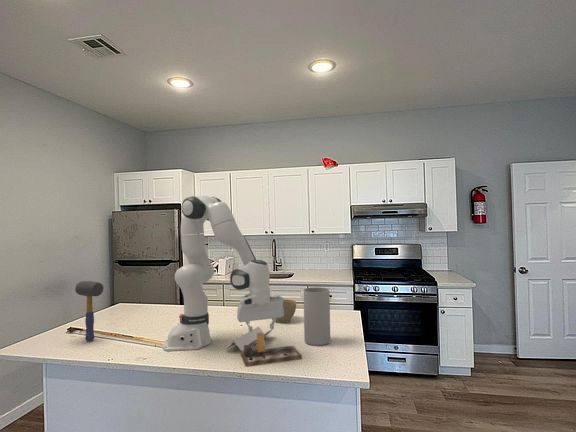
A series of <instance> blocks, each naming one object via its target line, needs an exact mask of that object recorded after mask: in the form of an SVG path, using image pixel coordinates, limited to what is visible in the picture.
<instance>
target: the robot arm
mask: <svg viewBox="0 0 576 432" xmlns="http://www.w3.org/2000/svg"><path fill="white" fill-rule="evenodd" d="M181 212H182V216H181V221H180V240H181V251H182V254H184V255H185V257H186V260H187V262H188V263H187V264H184V265H183V266H181V267H179V268H178V269H177V270H176V271H175V273H174V282H175V283H176V284H177V286H178V287H179V288H180V289H181V290H180V291H181V293H182V296H183V305H184V306H183V311H184V313H180V314H178V315H179V316H178V318H179V323H178V324H177V325H175V326H174V327H173V328H172V329H171V330H170V331H169V333H168V336H167V340H165V341H164V342H163V343H164V344H163V343H162V349H163V350H164V351H165V352H172V351H173V352H174V351H192V350H193V351H194V350H200V349H202V348H203V347H206V346H208V345H209V344H211V343H212V337H211V334H210V327H209V324H210V314H209V311H208V310H209V309H208V308H209V307H208V306H209V304H208V296H207V294H206V293H205V291H204V287H203V284H205V283H208V281H210V280H211V279H212V278H213V276H214V274H215V267H214V265H213V264H212V263H211V262H210V259H209V256H208V253H207V249H206V241H205V230H204V229H205V227H204V225H205V222H206V221H209V223H210V226H211V229H212V233H213V235H214V237H215V239H216V240H217V241H218V242H219V243H221V244H222V245H226V246H229V247H231V248H232V249H234V250H235V251H237V253H238V255H239V257H240V259H241V262H242V263H243V265H242V266H240V267H238V268H235V269H233V270H232V271H231V273H230V275H229V281H230V284H231V286H232V287H233V288H234V289H236V290H245V289H248V290H249V293H248V294H245V295H242V296H241V297H240V298H238V299H239V304H238V306H237V311H236V318H237V321H238V322H239V323H245V324H246V326H247V329H248V332H250V331H253V329H254V328H253V326H251V325H249V324H251V323H250V322H253V321H254V322H256V321H261V320H269V319H270V320H272V321H271V323H269V329H270V330H271V329H273V328H274V329H275V326H274V325H275V323H277V322H276V318H279V317H283V315H284V310H283V299H284V298H283V297H282V296H281V295H275V296H271V288H270V269H269V265H268V263H267V262H266V261H265V260H262V259H256V257H255V255H254V253H253V250H252V248H251V246H250V244H249V242H248V241H247V238H246V237H245V236H244V235H243V234H242V232H241V230H240V229H239V226H238V224H237V222H236V220H235V219H236V218H235V217H234V214H233V212H232V211H231V209H230V207H229V206H228V204H227V203H226V202H223V201H222V200H221V199H220V198H218V197H216V196H206V195H199V196H193V195H192V196H189V197H186V198H184V199H183V200H182V202H181ZM274 329H273V330H274Z"/></svg>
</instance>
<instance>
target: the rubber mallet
mask: <svg viewBox="0 0 576 432" xmlns="http://www.w3.org/2000/svg"><path fill="white" fill-rule="evenodd" d="M74 290H75V293H76V294H77V295H80V296H83V297H86V311H85V312H86V313H85V321H84V323H85V329H86V330H85V341H86V342H87V343H89V342H90V343H91V342H92V341H94V339H95V332H94V326H95V325H94V324H95V315H94V311H93V297H99V296H100V295H102V294H103V292H104V285H103V283H102V282H98V281H92V280H88V281H87V280H86V281H85V280H82V281H79V282H78V283H77V284H76V285H75V289H74Z"/></svg>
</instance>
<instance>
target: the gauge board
mask: <svg viewBox="0 0 576 432" xmlns="http://www.w3.org/2000/svg"><path fill="white" fill-rule="evenodd" d="M252 346H253V345H252ZM252 346H251V345H244V351H243V352H242V351H240V357H241V359H242V361H243V364H244V366H245V367H253V366H260V365H265V364H267V363H268V364H275V363H282V362H289V361H294V360H295V359H296V360H301V359H302V357H303V356H302V354H301V352H300V351H298V350H297V348H296V347H295V346H294V345H285V346H279V347H272V348H265V351H264V352H263V353H264V355H265V358H263V356H262V355H261V352H258V351H257V349H256V350H254V349H253V347H252ZM296 360H295V361H296Z"/></svg>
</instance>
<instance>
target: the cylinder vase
mask: <svg viewBox="0 0 576 432" xmlns="http://www.w3.org/2000/svg"><path fill="white" fill-rule="evenodd" d="M330 296H331V295H330V289H329V288H327V287H318V286H317V287H316V286H315V287H314V286H313V287H307V288H303V323H304V325H303V328H304V329H303V334H304V335H303V336H304V337H303V338H304V342H305V343H306V344H308V345H310V346H314V347H315V346H316V347H319V346H320V347H321V346H326V345H328V344H329V343H331V309H330V308H331V301H330V300H331V299H330Z"/></svg>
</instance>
